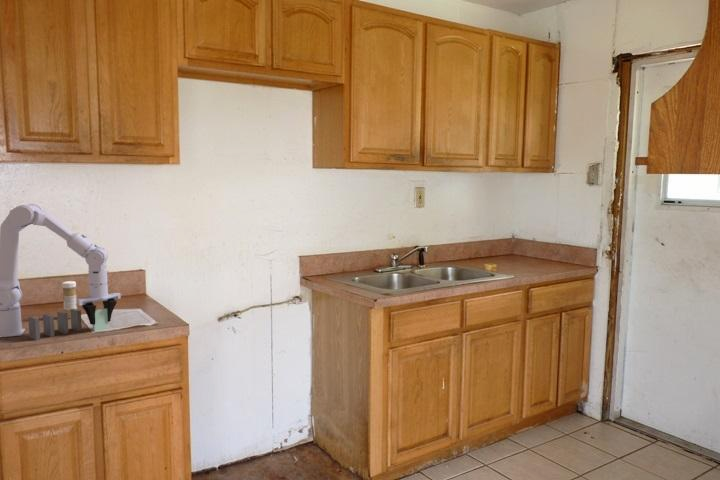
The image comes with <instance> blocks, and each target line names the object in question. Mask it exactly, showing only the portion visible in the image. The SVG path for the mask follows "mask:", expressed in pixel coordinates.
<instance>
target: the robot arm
mask: <svg viewBox="0 0 720 480" xmlns="http://www.w3.org/2000/svg"><path fill="white" fill-rule="evenodd" d="M8 213H9V214H8V215H7V216H6V217H5V219H4V220H3V221H2V223H1V224H0V338H8V337H18V336H22V335H24V332H25V330H26V328H23V323H22V310H21V308H22V307H21V304H20V302H21V300H22V298H23V291H22V290H21V287H20V284H21V283H20V281H19V279H18V267H19V263H18V261H19V239H20V238H19V237H20V232H22V230H24V229H25V228H26V227H28V226H30V225H33V226H38V227H39V226H42V227H46V228H47V229H48V230H50V231H51V232H53V233H54V234H56V235H57V236H59V237H60V238H62V239H63V240H65V241H66V245H67V247H68V248H69V249H71V250H73V252H75V253H76V254H77V255H78V256H80V257H81V258H83V259H85V262H86V265H88V289H89V292H88V293H89V296H86V297H82V298H78V299H77V298H76V299H77V300H76V302H77V307H78V306H79V307H80V306H81V307H82V309H83V310H84V312H85V314H86V315H87V318H88V321H89V324H90V325H92V326H93V325H95V310H97V305H95V303H100V302H101V303H102V306H103V308H107V312H108V323H109V322H111V319H112V315H113V311H114V309H115V308H116V305H117V300H120V299H121V296H122V295H121V293H120V292H112V293H111V292H110V293H109V285H108V269H107V260H108V259H109V253H108V252H107V250H106V249H105V248H104V247H100V246H99V245H98V244H97V243H93V242H92V241H91V240H90V239H89V238H87V234H84V233H83V234H81V233H80V232H77V233H75V232H73V231H72V230H70V229H69V228H68V227H67V226H66V225H64V224H63V223H61V222H60V221H59V220H58V218H57V219H56V217H55V216H54V215H52V214H51V213H49V212H48V211H47V210H45V209H44V208H42V207H41V206H39V205H38V204H35V203H30V204H19V205H18V206H16V207H13V208H12V209H11V210H9V212H8Z"/></svg>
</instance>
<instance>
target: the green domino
mask: <svg viewBox="0 0 720 480" xmlns="http://www.w3.org/2000/svg"><path fill="white" fill-rule="evenodd" d="M106 328H108V329H109V322H108V312H107V308H104V307H103V308H100V309H99V308H98V309H96V310H95V325H92V331H93V332H98V331H97V330H99V331H102V330H101V329H103V330H107V329H106Z"/></svg>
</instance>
